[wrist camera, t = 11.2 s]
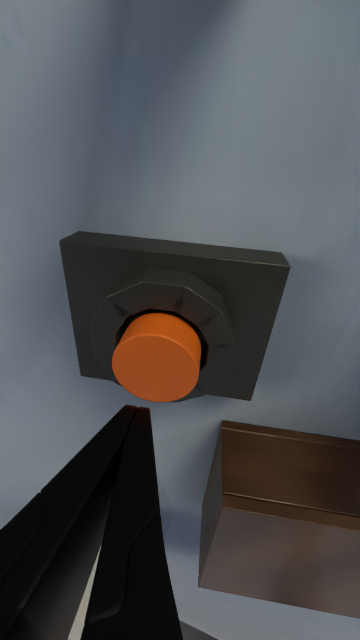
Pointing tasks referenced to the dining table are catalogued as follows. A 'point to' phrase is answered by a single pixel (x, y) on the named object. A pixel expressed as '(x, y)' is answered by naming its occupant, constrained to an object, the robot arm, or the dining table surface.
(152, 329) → the button
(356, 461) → the wooden box
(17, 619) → the robot arm
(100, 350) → the control block
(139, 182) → the dining table surface
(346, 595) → the lid
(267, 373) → the dining table surface
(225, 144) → the dining table surface
